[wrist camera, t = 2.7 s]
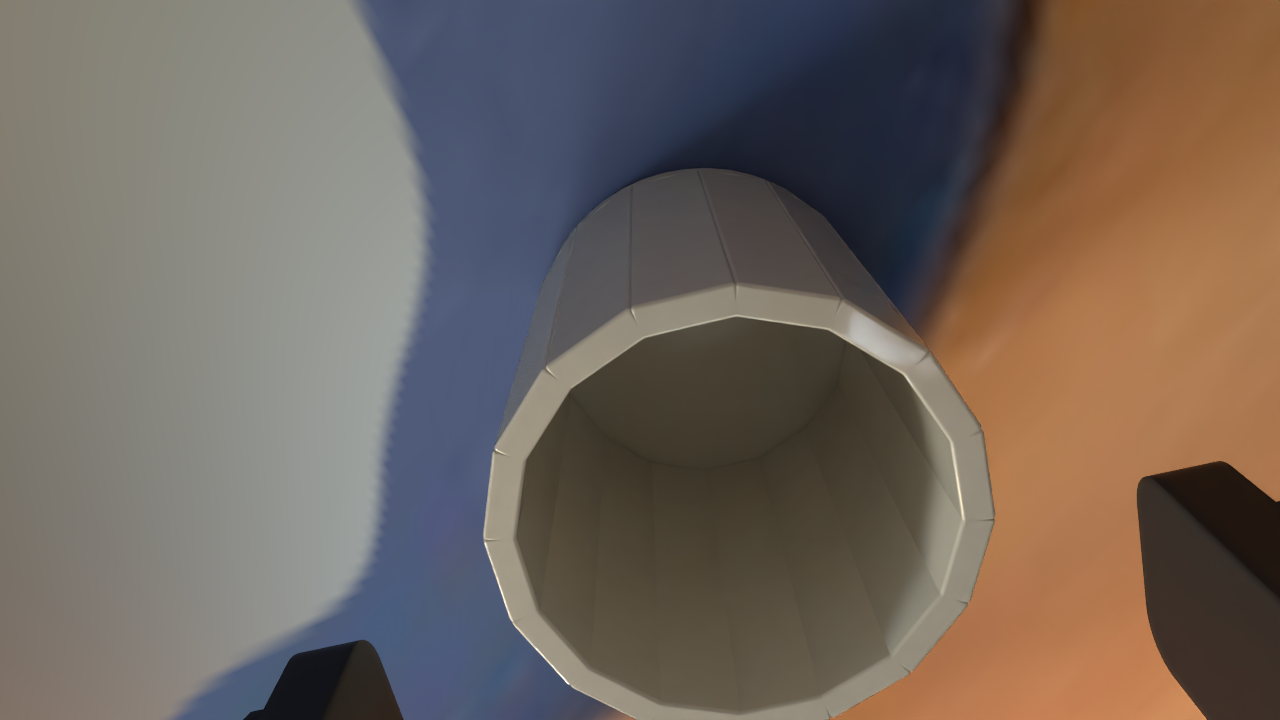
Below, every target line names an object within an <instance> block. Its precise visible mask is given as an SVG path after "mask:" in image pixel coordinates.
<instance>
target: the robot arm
mask: <svg viewBox="0 0 1280 720" xmlns="http://www.w3.org/2000/svg"><path fill="white" fill-rule="evenodd" d="M1137 508H1138V519H1139V530H1140V541H1141V552H1142V563H1143V574H1144V585H1145V596H1146V607H1147V614H1148V619H1149V623H1150V627H1151V631H1152V634H1153V637H1154V640H1155V642H1156V645H1157V648H1158V650H1159V652H1160V654H1161V656H1162V658H1163V660H1164V662H1165V664H1166V666H1167V667H1168V669H1169V671H1170V672H1171V674H1172V675H1173V676H1174V678H1175V679H1176V680H1177V681H1178V683H1179V684H1180V685H1181V687H1182V688H1183V689H1184V690H1185V692H1186V693H1187V694H1188V696H1189V697H1190V698H1191V699H1192V701H1193V702H1194V703H1195V705H1196V706H1197V707H1198V708H1199V710H1200V711H1201V712H1202V714H1203V715H1204V716H1205V717H1206V719H1207V720H1280V501H1278V502H1275V501H1274V500H1273V499H1272V498H1270V497H1269V496H1268V495H1267V494H1265V493H1264V492H1263V491H1262V490H1260V489H1259V488H1258V487H1257V486H1255V485H1254V484H1253V483H1252V482H1251V481H1249V480H1248V479H1247V478H1246V477H1244V476H1243V475H1242V474H1241V473H1239V472H1238V471H1237V470H1236V469H1234V468H1233V467H1232V466H1230V465H1229V464H1227V463H1225V462H1222V461H1217V462H1212V463H1208V464H1203V465H1198V466H1193V467H1189V468H1184V469H1179V470H1174V471H1170V472H1165V473H1160V474H1156V475H1151V476H1146V477H1143V478H1142V479H1141V480H1140V482H1139V484H1138V489H1137ZM243 720H403V717H402V715H401V712H400V709H399V707H398V704H397V702H396V699H395V696H394V694H393V691H392V689H391V686H390V683H389V681H388V678H387V676H386V673H385V671H384V668H383V665H382V663H381V660H380V658H379V656H378V653H377V652H376V650H375V648H374V647H373V646H372V644H370V643H369V642H368V641H366V640H359V641H355V642H350V643H345V644H340V645H336V646H331V647H326V648H321V649H317V650H312V651H307V652H302V653H298V654H296V655H294V656H293V657H292V658H291V659H290V660H289V662H288V663H287V665H286V667H285V669H284V671H283V673H282V675H281V677H280V679H279V681H278V683H277V684H276V686H275V688H274V690H273V692H272V694H271V696H270V698H269V700H268V702H267V704H266V706H265V708H264V709H263V710H258V711H253V712H250V713H249V714H248V715H247V716H246V717H245V718H244V719H243Z"/></svg>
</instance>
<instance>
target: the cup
mask: <svg viewBox="0 0 1280 720" xmlns="http://www.w3.org/2000/svg"><path fill="white" fill-rule="evenodd" d="M994 518H995V509H994V502H993V495H992V488H991V480H990V473H989V466H988V459H987V452H986V445H985V438H984V432H983V430H982V429H981V424H980V423H979V421H978V420H977V418H976V417H975V416H974V414H973V413H972V411H971V410H970V408H969V407H968V405H967V404H966V402H965V401H964V399H963V398H962V396H961V395H960V393H959V392H958V390H957V389H956V387H955V386H954V384H953V383H952V381H951V380H950V379H949V377H948V376H947V374H946V373H945V371H944V370H943V368H942V367H941V365H940V364H939V362H938V361H937V359H936V358H935V356H934V355H933V353H932V352H931V351H930V350H929V348H928V347H927V346H926V344H925V343H924V342H923V341H922V339H921V338H920V337H919V336H918V334H917V333H916V332H915V331H914V329H913V328H912V327H911V325H910V324H909V323H908V322H907V320H906V319H905V318H904V317H903V315H902V314H901V313H900V312H899V310H898V309H897V308H896V306H895V305H894V304H893V303H892V301H891V300H890V299H889V298H888V296H887V295H886V294H885V293H884V291H883V290H882V289H881V287H880V286H879V285H878V284H877V282H876V281H875V280H874V279H873V277H872V276H871V275H870V274H869V272H868V271H867V270H866V269H865V267H864V266H863V265H862V263H861V262H860V261H859V260H858V258H857V257H856V256H855V255H854V253H853V252H852V251H851V250H850V248H849V247H848V246H847V244H846V243H845V242H844V241H843V239H842V238H841V237H840V236H839V234H838V233H837V232H836V231H835V229H834V228H833V227H832V225H831V224H830V223H829V222H828V220H827V219H826V218H825V217H823V215H822V214H821V213H819V212H817V211H816V210H814V209H813V208H812V207H810V206H809V205H808V204H807V203H805V202H804V201H803V200H801V199H800V198H799V197H797V196H796V195H794V194H793V193H792V192H790V191H788V190H786V189H784V188H782V187H780V186H778V185H777V184H775V183H773V182H770V181H768V180H765V179H762V178H759V177H757V176H754V175H751V174H746V173H742V172H737V171H733V170H726V169H714V168H696V169H683V170H677V171H671V172H666V173H662V174H658V175H655V176H652V177H649V178H646V179H643V180H640V181H638V182H636V183H634V184H632V185H630V186H628V187H625V188H623V189H621V190H620V191H618V192H617V193H615V194H614V195H612V196H610V197H609V198H607V199H606V200H604V201H603V202H602V203H600V204H599V205H598V206H597V207H596V208H595V209H593V210H592V211H591V212H590V213H589V214H587V215H586V216H585V218H584V219H583V220H582V221H581V222H580V223H579V224H578V225H577V226H576V227H575V229H574V230H573V231H572V232H571V234H570V235H569V237H568V238H567V239H566V241H565V242H564V244H563V245H562V247H561V248H560V250H559V252H558V254H557V256H556V258H555V260H554V262H553V264H552V266H551V268H550V270H549V272H548V274H547V275H546V277H545V279H544V280H543V284H542V286H541V289H540V293H539V296H538V300H537V303H536V306H535V310H534V313H533V317H532V320H531V323H530V327H529V330H528V334H527V337H526V340H525V344H524V347H523V351H522V354H521V358H520V361H519V364H518V368H517V371H516V375H515V378H514V381H513V385H512V388H511V392H510V395H509V398H508V402H507V405H506V409H505V412H504V415H503V419H502V422H501V426H500V429H499V432H498V436H497V439H496V443H495V446H494V449H493V453H492V461H491V470H490V479H489V487H488V496H487V505H486V513H485V522H484V531H483V537H484V544H485V547H486V550H487V553H488V556H489V559H490V562H491V565H492V568H493V571H494V574H495V577H496V580H497V583H498V586H499V589H500V592H501V595H502V597H503V600H504V603H505V606H506V609H507V612H508V615H509V618H510V620H511V621H512V622H513V625H514V626H515V627H516V628H517V629H518V630H519V631H520V632H521V634H522V635H523V636H524V637H525V638H526V639H527V640H528V641H529V642H530V643H531V644H532V646H533V647H534V648H535V649H536V650H537V651H538V652H539V653H540V654H541V655H542V656H543V658H544V659H545V660H546V661H547V662H548V663H549V664H550V665H551V666H552V667H553V668H554V670H555V671H556V672H557V673H558V674H559V675H560V676H561V677H562V678H563V679H564V680H565V682H566V683H567V684H568V685H571V686H572V687H573V688H574V689H576V690H578V691H580V692H582V693H584V694H586V695H588V696H590V697H592V698H594V699H596V700H598V701H600V702H602V703H604V704H606V705H608V706H610V707H613V708H615V709H617V710H619V711H621V712H623V713H625V714H627V715H629V716H631V717H633V718H635V719H637V720H829V719H830V718H831V717H836V716H838V715H840V714H841V713H843V712H845V711H847V710H848V709H850V708H852V707H854V706H855V705H857V704H859V703H861V702H862V701H864V700H866V699H867V698H869V697H871V696H873V695H874V694H876V693H878V692H880V691H881V690H883V689H885V688H887V687H888V686H890V685H892V684H893V683H895V682H897V681H899V680H900V679H902V678H904V677H906V676H907V675H909V674H910V671H914V670H915V668H916V667H917V666H918V665H919V664H920V662H921V661H922V660H923V659H924V658H925V656H926V655H927V654H928V653H929V652H930V650H931V649H932V648H933V647H934V646H935V644H936V643H937V642H938V641H939V640H940V638H941V637H942V636H943V635H944V634H945V632H946V631H947V630H948V629H949V628H950V626H951V625H952V624H953V623H954V622H955V620H956V619H957V618H958V617H959V616H960V614H961V613H962V612H963V611H964V610H965V608H966V607H967V605H968V602H970V600H971V597H972V594H973V590H974V587H975V584H976V581H977V577H978V574H979V571H980V568H981V564H982V561H983V558H984V555H985V551H986V548H987V545H988V542H989V538H990V535H991V532H992V529H993V525H994V522H995V520H994Z"/></svg>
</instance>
